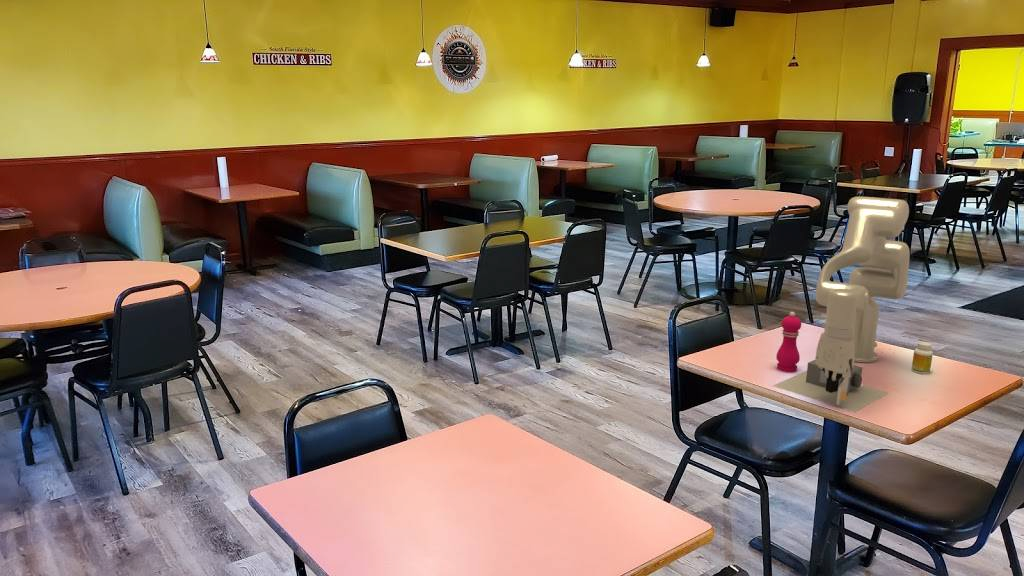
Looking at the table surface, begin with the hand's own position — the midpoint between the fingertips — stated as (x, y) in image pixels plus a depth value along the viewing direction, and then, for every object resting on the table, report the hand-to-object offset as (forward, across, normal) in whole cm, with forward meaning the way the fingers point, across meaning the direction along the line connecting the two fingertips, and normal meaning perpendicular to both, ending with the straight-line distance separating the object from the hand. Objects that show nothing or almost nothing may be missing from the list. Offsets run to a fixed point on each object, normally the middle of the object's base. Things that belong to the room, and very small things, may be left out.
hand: (831, 391), depth 223 cm
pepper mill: (+4, -26, +10) cm, 28 cm away
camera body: (+4, -9, +12) cm, 16 cm away
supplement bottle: (+4, -4, +48) cm, 49 cm away
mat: (+4, -7, +8) cm, 11 cm away
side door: (+3, +1, +4) cm, 5 cm away
